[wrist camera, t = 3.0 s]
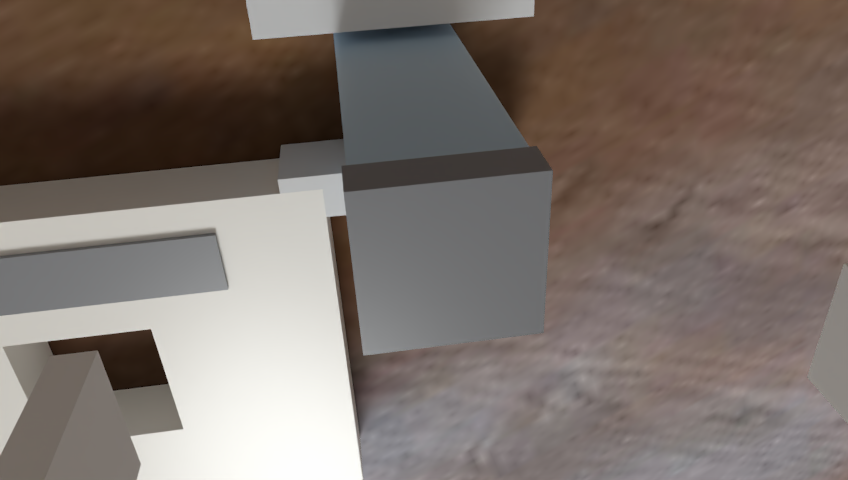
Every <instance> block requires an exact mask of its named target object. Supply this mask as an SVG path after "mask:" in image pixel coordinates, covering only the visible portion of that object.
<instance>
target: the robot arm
mask: <svg viewBox="0 0 848 480" xmlns="http://www.w3.org/2000/svg"><path fill="white" fill-rule="evenodd" d="M807 378H808V379H809V380H810V381H811V382H812V383H813V385H814V386H815V387H816V388H817V389H818V390H819V392H820V393H821V394H822V395H823V396H824V397H825V398H826V400H827V401H828V402H829V403H830V404H831V405H832V406H833V408H834V409H835V410H836V411H837V412H838V413H839V415H840V416H841V417H842V418H843V419H844V420H845V421H846V423H847V424H848V263H845V264H844V265H843V268H842V271H841V274H840V277H839V280H838V283H837V286H836V290H835V293H834V296H833V299H832V302H831V305H830V308H829V311H828V314H827V317H826V320H825V323H824V327H823V330H822V333H821V336H820V339H819V342H818V345H817V348H816V351H815V354H814V357H813V361H812V364H811V367H810V370H809V373H808V376H807ZM140 466H141V463H140V460H139V458H138V455H137V452H136V450H135V447H134V444H133V442H132V439H131V437H130V434H129V431H128V429H127V426H126V423H125V421H124V418H123V416H122V413H121V410H120V408H119V405H118V402H117V400H116V397H115V395H114V392H113V389H112V387H111V384H110V381H109V379H108V376H107V374H106V371H105V368H104V366H103V363H102V360H101V358H100V355H99V353H98V351H89V352H80V353H72V354H63V355H55V356H49V359H48V361H47V363H46V365H45V367H44V369H43V371H42V373H41V375H40V377H39V379H38V381H37V383H36V385H35V387H34V389H33V391H32V393H31V395H30V397H29V399H28V401H27V403H26V405H25V407H24V409H23V411H22V413H21V415H20V417H19V419H18V421H17V423H16V425H15V427H14V429H13V431H12V433H11V435H10V437H9V439H8V441H7V443H6V445H5V447H4V449H3V451H2V453H1V455H0V480H137V477H138V473H139V470H140Z"/></svg>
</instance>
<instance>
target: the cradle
mask: <svg viewBox="0 0 848 480" xmlns="http://www.w3.org/2000/svg"><path fill="white" fill-rule="evenodd" d="M246 4H247V9H248V15H249V21H250V26H251V32H252V38H253V40H256V39H268V38H280V37H292V36H304V35H316V34H328V33H340V32H352V31H364V30H376V29H388V28H400V27H412V26H424V25H436V24H448V23H460V22H472V21H484V20H496V19H508V18H520V17H532V16H534V0H246ZM345 165H346V159H345V149H344V139H337V140H327V141H316V142H306V143H296V144H285V145H281V148H280V159H279V170H278V185H279V191H280V194H281V193H291V192H300V191H310V190H320V189H323V196H324V204H325V211H326V217H332V216H342V215H346V209H345V201H344V193H343V181H342V169H341V166H345Z"/></svg>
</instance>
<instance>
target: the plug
mask: <svg viewBox="0 0 848 480" xmlns="http://www.w3.org/2000/svg"><path fill="white" fill-rule="evenodd" d="M333 35H334V45H335V56H336V66H337V76H338V87H339V97H340V107H341V118H342V128H343V138H344V149H345V159H346V165H345V166H341V169H342V181H343V193H344V201H345V209H346V217H347V225H348V234H349V242H350V250H351V258H352V267H353V275H354V283H355V291H356V300H357V308H358V316H359V324H360V333H361V341H362V349H363V356H364V355H372V354H380V353H388V352H396V351H404V350H411V349H419V348H427V347H435V346H443V345H451V344H459V343H467V342H475V341H483V340H491V339H499V338H507V337H515V336H522V335H530V334H538V333H543V331H544V314H545V297H546V279H547V262H548V244H549V227H550V210H551V192H552V175H553V170H552V169H551V167H550V166H549V164H548V163H547V161H546V160H545V158H544V157H543V155H542V154H541V152H540V151H539V149H538V148H537V146H533V147H529V146H528V144H527V143H526V141H525V139H524V138H523V136H522V135H521V133H520V132H519V130H518V129H517V127H516V126H515V124H514V122H513V121H512V119H511V118H510V116H509V115H508V113H507V112H506V110H505V108H504V107H503V105H502V104H501V102H500V101H499V99H498V98H497V96H496V95H495V93H494V91H493V90H492V88H491V87H490V85H489V84H488V82H487V81H486V79H485V77H484V76H483V74H482V73H481V71H480V70H479V68H478V67H477V65H476V64H475V62H474V60H473V59H472V57H471V56H470V54H469V53H468V51H467V50H466V48H465V46H464V45H463V43H462V42H461V40H460V39H459V37H458V36H457V34H456V33H455V31H454V29H453V28H452V26H451V25H450V23H448V24H436V25H424V26H412V27H400V28H388V29H376V30H364V31H352V32H340V33H333Z"/></svg>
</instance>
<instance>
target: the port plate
mask: <svg viewBox="0 0 848 480" xmlns="http://www.w3.org/2000/svg"><path fill="white" fill-rule="evenodd" d="M279 159H280V158H277V159H267V160H257V161H247V162H237V163H227V164H216V165H206V166H196V167H186V168H176V169H166V170H156V171H146V172H136V173H126V174H115V175H105V176H95V177H85V178H75V179H65V180H55V181H45V182H35V183H25V184H14V185H4V186H0V455H1V453H2V451H3V449H4V447H5V445H6V443H7V441H8V439H9V437H10V435H11V433H12V431H13V429H14V427H15V425H16V423H17V421H18V419H19V417H20V415H21V413H22V411H23V409H24V407H25V405H26V403H27V401H28V399H29V397H30V395H31V393H32V391H33V389H34V387H35V385H36V383H37V381H38V379H39V377H40V375H41V373H42V371H43V369H44V367H45V365H46V363H47V361H48V359H49V356H53V353H52V351H51V349H50V346H49V344H48V342H47V341H55V340H63V339H71V338H80V337H88V336H97V335H105V334H113V333H122V332H130V331H139V330H147V329H151V330H152V334H153V337H154V340H155V343H156V346H157V349H158V352H159V355H160V358H161V361H162V364H163V367H164V370H165V374H166V377H167V380H168V383H169V384H164V385H156V386H148V387H140V388H132V389H124V390H116V391H113V392H114V395H115V397H116V400H117V402H118V405H119V408H120V410H121V413H122V416H123V418H124V421H125V423H126V426H127V429H128V431H129V434H130V437H131V439H132V442H133V444H134V447H135V450H136V452H137V455H138V458H139V460H140V463H141V466H140V470H139V473H138V477H137V480H363V469H362V456H361V443H360V434H359V426H358V419H357V411H356V404H355V397H354V389H353V382H352V375H351V367H350V360H349V353H348V345H347V338H346V330H345V323H344V316H343V308H342V301H341V294H340V286H339V279H338V272H337V264H336V257H335V249H334V242H333V235H332V227H331V220H330V217H326V211H325V204H324V196H323V189H320V190H310V191H300V192H291V193H281V194H280V191H279V185H278V170H279Z"/></svg>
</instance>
